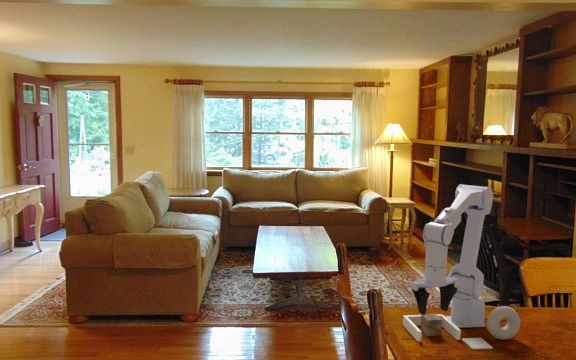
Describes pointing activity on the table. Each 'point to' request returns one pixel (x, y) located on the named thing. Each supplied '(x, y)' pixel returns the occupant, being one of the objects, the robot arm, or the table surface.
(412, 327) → the cream u-shaped arch
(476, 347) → the mat
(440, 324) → the block
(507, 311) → the donut
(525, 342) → the table surface
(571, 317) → the table surface
